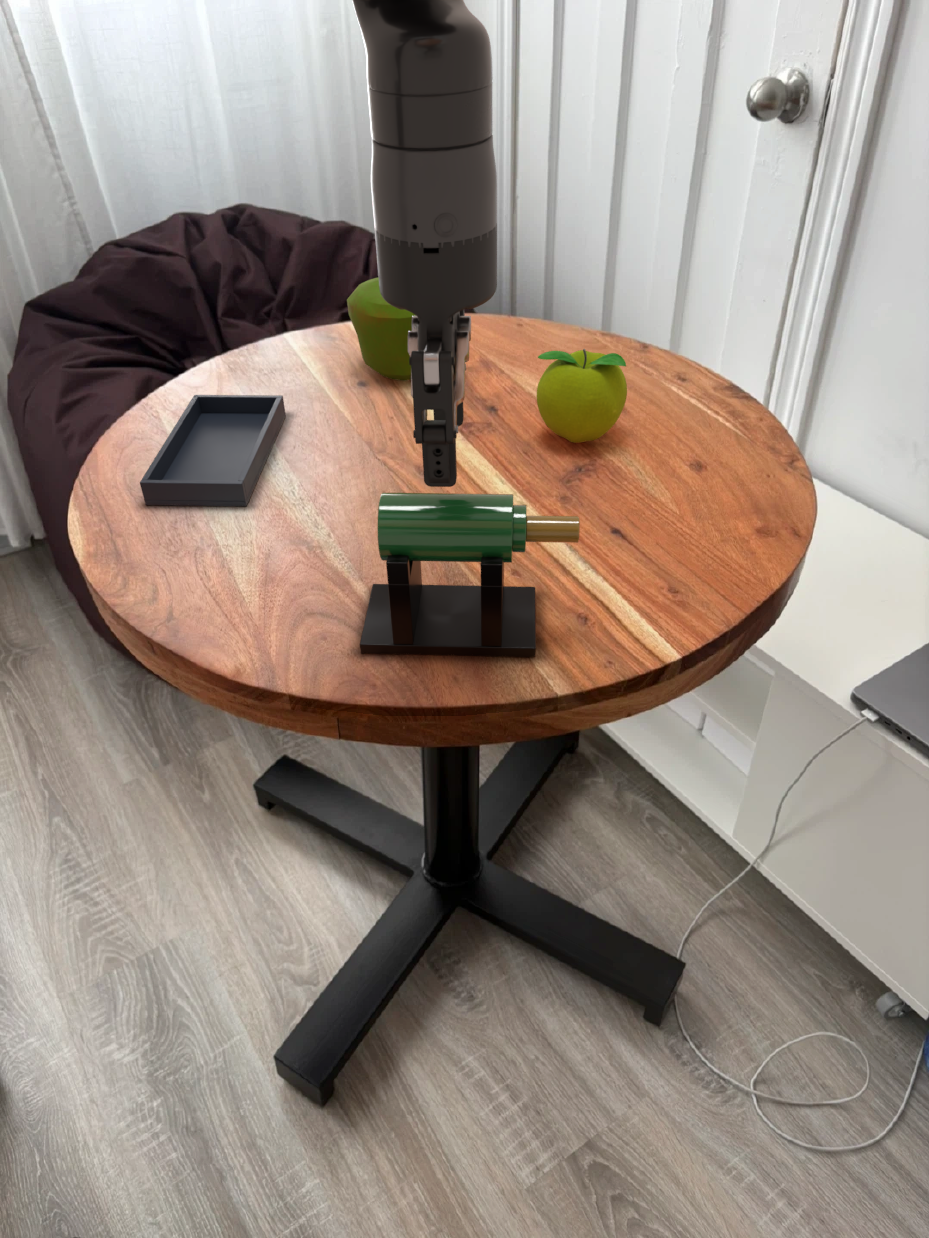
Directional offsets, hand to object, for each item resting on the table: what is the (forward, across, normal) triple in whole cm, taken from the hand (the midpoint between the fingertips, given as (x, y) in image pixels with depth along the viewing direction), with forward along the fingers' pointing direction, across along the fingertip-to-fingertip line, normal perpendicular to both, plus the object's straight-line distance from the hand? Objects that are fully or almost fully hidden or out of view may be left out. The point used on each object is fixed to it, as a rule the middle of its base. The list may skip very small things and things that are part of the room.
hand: (445, 453), depth 66 cm
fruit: (+16, -32, +12) cm, 38 cm away
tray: (+16, -27, -27) cm, 41 cm away
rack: (+16, 0, 0) cm, 16 cm away
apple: (+16, -49, -9) cm, 53 cm away
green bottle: (+9, 0, +2) cm, 9 cm away
